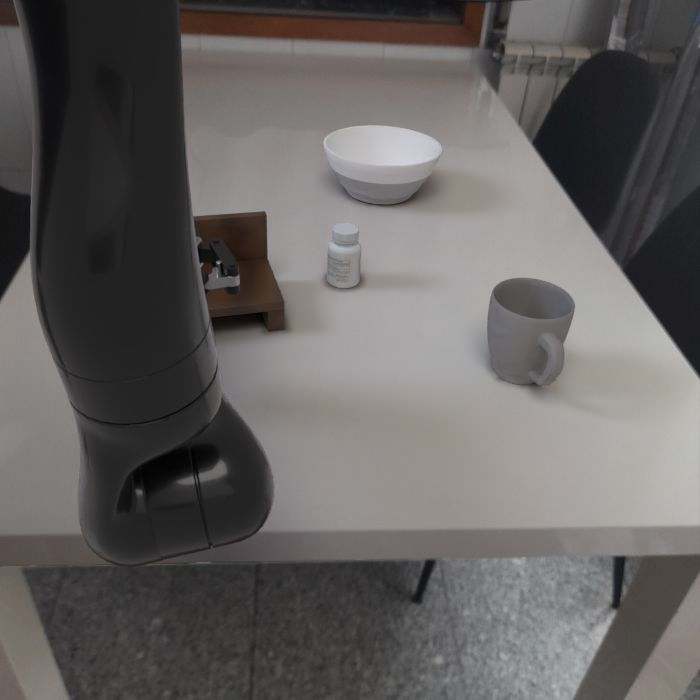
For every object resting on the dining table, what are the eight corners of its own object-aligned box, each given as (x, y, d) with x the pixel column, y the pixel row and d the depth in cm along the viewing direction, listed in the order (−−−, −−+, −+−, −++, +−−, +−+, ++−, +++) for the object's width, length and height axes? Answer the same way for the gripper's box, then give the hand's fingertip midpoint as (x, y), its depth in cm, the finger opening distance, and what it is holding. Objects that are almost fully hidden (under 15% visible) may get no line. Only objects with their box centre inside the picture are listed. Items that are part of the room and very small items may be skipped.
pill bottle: (345, 269, 99) (348, 218, 94) (366, 283, 96) (369, 230, 92) (320, 278, 96) (321, 226, 92) (340, 292, 94) (343, 239, 89)
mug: (466, 351, 84) (479, 279, 79) (535, 344, 86) (553, 274, 80) (507, 417, 75) (524, 341, 69) (584, 408, 76) (607, 333, 71)
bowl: (303, 179, 125) (303, 132, 120) (399, 165, 132) (403, 120, 128) (355, 224, 111) (358, 173, 106) (459, 205, 118) (466, 157, 114)
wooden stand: (110, 349, 81) (96, 271, 75) (109, 295, 90) (97, 222, 85) (284, 329, 86) (284, 255, 80) (266, 280, 95) (265, 210, 90)
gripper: (256, 278, 53) (226, 190, 66) (47, 297, 49) (60, 200, 62) (259, 361, 57) (230, 263, 70) (66, 384, 53) (75, 276, 67)
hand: (150, 233), depth 66 cm, fingers closed on beverage can, 6 cm apart
